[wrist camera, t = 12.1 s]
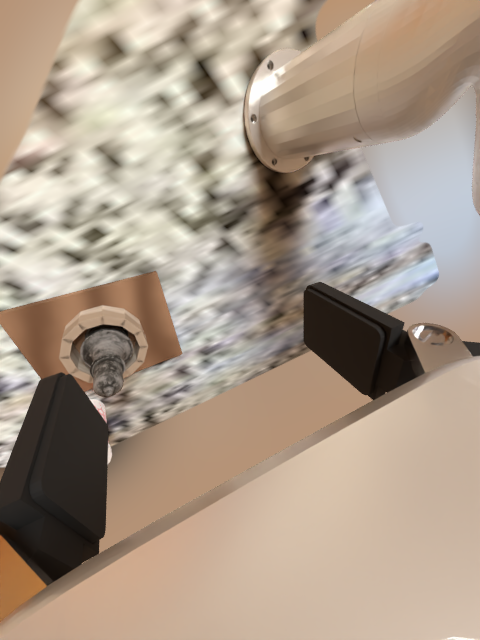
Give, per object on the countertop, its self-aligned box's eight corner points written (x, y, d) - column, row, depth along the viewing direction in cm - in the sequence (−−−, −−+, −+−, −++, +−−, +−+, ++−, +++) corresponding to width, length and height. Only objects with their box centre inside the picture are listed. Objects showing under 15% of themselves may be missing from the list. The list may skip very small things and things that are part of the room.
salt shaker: (138, 328, 35) (151, 380, 25) (117, 361, 36) (122, 423, 26) (95, 310, 31) (91, 363, 22) (73, 347, 32) (60, 414, 23)
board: (155, 271, 34) (161, 280, 30) (180, 350, 41) (188, 366, 37) (-3, 312, 28) (-19, 329, 24) (59, 396, 35) (54, 420, 31)
